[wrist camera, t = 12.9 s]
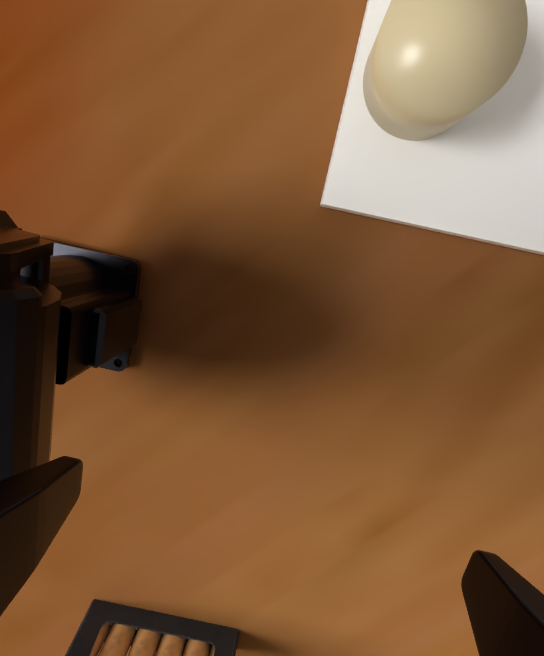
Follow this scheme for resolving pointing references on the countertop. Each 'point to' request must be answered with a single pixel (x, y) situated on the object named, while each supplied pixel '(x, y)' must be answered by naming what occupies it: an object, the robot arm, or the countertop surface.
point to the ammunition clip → (148, 634)
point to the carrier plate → (456, 163)
